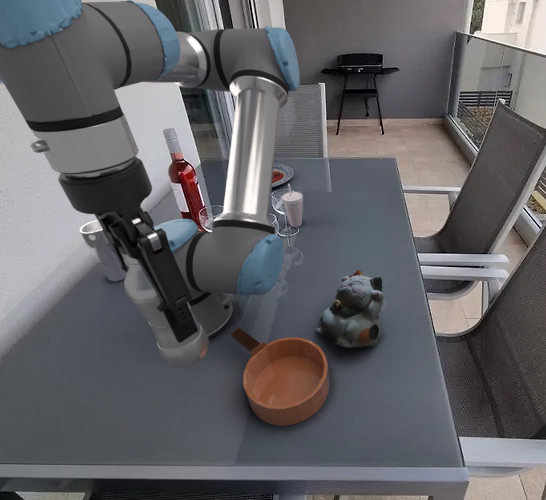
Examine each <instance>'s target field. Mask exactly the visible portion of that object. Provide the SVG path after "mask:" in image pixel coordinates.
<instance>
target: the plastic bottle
mask: <svg viewBox="0 0 546 500" xmlns="http://www.w3.org/2000/svg"><path fill="white" fill-rule="evenodd" d="M137 249H139V247H137V248H135V249H133V250H134V251H135V250H137ZM121 254H122V256H123V258H124V262H125V264H126V266H128V267H129V269H128V271H127V274H126V277H125V279H124V281H123V283H124V284H123V285H124V292H125V294H126V295H127V296H128V298H129V299H130V300H131V302H132V304H134V306H135V307H136V308H137V309H138V310H139V311H140V312H141V314H142V315H143V317H144V318H145V320H146V321H147V323H148V324H149V326H150V329H151V330H152V333H153V335H154V339H155V341H156V344H157V345H156V346H157V349H158V353H159V355H160V358H161V359H162V360H163V361H164V362H165V363H166V364H167V365H168V366H170V367H172V368H176V369H187V368H191V367H194V366H195V365H197V364H199V363H200V362H201V361H202V360H203V359H204V358H205V357H206V355H207V353H208V351H209V348H210V339H208V335H207V333H206V332H205V330H204V329H203V327H202V326H201V325H200V324H199V322H198V321H197V319H196V317H195V315H194V314H193V312H192V310H191V307H190V305H189V302H187V305H188V307H189V309H190V312H191V314H192V317H193V319H194V321H195V324H196V326H197V328H198V331H197V332H196V333H194V334H193V335H191V336H190V337H188V338H187V339H186V340H184V341H183V342H181V343H179V342H178V341H177V340H176V338H175V336H174V334H173V331H172V329H171V327H170V325H169V323H168V321H167V319H166V317H165V315H164V313H163V311H162V312H160V311H159V310H158V309H157V308H156V307H157V306H159V305H160V304H161V303H162V302H161V300H160V299H159V297H158V295H157V294H156V292H155V290H154V289H153V287H152V285H151V283H150V282H149V280H148V278H147V277H146V275H145V273H144V272H143V270H142V268H141V266H140V265H139V263H138V261H137V260H136V259H133V258H130V257H129V256H128V254H127V253H126V251H125V249H124V247H122V248H121Z"/></svg>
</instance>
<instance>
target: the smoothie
mask: <svg viewBox="0 0 546 500" xmlns="http://www.w3.org/2000/svg"><path fill="white" fill-rule="evenodd" d="M287 185H288V192H286V193H284V194H283V195H282V196H281V202H282V203H283V206H284V208H285V209H284V210H285V212H286V215H287V219H288V222H289V225H290V227H292V228H297V227H301V226H302V224H303V199H304V197H303V194H302V193H301V192H298V191H292V189H291V183H287Z"/></svg>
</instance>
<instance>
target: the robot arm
mask: <svg viewBox="0 0 546 500" xmlns="http://www.w3.org/2000/svg"><path fill="white" fill-rule="evenodd" d="M300 78H301V77H300V67H299V61H298V57H297V52H296V47H295V45H294V42H293V39H292V37H291V35H290V33H289V32H288V31H287V29H285V28H283V27H279V26H278V27H273V26H272V27H270V26H268V25H266V26H264V27H257V28H256V27H254V28H252V27H251V28H249V27H248V28H224V29H223V28H219V29H218V28H217V29H209V30H202V31H195V32H194V31H193V32H185V31H176V29H175V27H174V25H173V24H172V23H171V21H170V20H169V18H167V16H166V15H165V14H164V13H163V12H162V11H160V10H159V9H158V8H156V7H154V6H153V5H150V4H148V3H143V2H136V1H134V0H120V1H89V2H88V1H85V2H83V1H82V0H0V85H3V86H5V88H6V90H7V92H8V93H9V95H10V97H11V98H12V100H13V102H14V103H15V106H16V107H17V109H18V110H19V112H20V115H22V118H23V119H24V121H25V123H26V124H27V127H28V128H29V129H30V130H31V132H32V135H33V136H34V137H36V138H37V140H36V141H34V142H31V143H30V148H31V149H32V151H33V152H34V153H36V154H42V153H43V154H44V156H45V159H46V160H47V162H48V164H49V166H50V167H51V170H53V171H54V172H56V173H59V175H58V178H57V182H58V184H59V185H60V187H61V188H62V190H63V192H64V194H65V196H66V198H67V199H68V201H69V203H70V205H71V206H72V208H73V209H74V210H75V211H77V212H79V213H81V214H87V215H94V216H95V218H96V220H98V221H99V223H100V225H101V227H102V229H103V231H104V233H105V235H106V237H107V239H108V241H109V243H110V245H111V247H112V249H113V251H114V253H115V255H116V257H117V259H118V261H119V263H120V265H121V268H122V270H124V271H125V272H126V271H128V269H129V267H128V266H126V264H125V262H124V258H123V256H122V254H121V248H122V247H124V249H125V251H126V253H127V254H128V256H129V257H130V258H133V259H136V260H137V261H138V263H139V265H140V266H141V268H142V270H143V272H144V273H145V275H146V277H147V278H148V280H149V282H150V283H151V285H152V287H153V289H154V290H155V292H156V294H157V295H158V297H159V299H160V300H161V302H162V303H161V304H160V305H159V306H157V307H156V308H157V309H158V310H159V311H160V312H162V311H163V313H164V315H165V317H166V319H167V321H168V323H169V325H170V327H171V329H172V331H173V334H174V336H175V338H176V340H177V341H178V342H179V343H181V342H183V341H184V340H186V339H187V338H188V337H190V336H191V335H193V334H194V333H196V332H197V331H198V328H197V326H196V324H195V321H194V319H193V317H192V314H191V312H190V309H189V307H188V305H187V302H189V305H190V307H191V310H192V312H193V314H194V315H195V317H196V319H197V321H198V322H199V324H200V325H201V326H202V327H203V329H204V330H205V332H206V333H207V335H208V340H210V339H213V338H214V337H215V336H217V335H218V334H220V333H221V332H222V331H224V330H225V329H226V328H227V327H228V325H229V324H230V323H231V321H232V319H233V317H234V312H235V311H234V305H233V302H232V298H231V296H230V295H238V296H244V297H245V296H262V295H265V294H267V293H269V292H270V291H271V290H272V289H273V287H274V286H275V285H276V283H277V282H278V279H279V277H280V274H281V271H282V267H283V262H284V254H285V253H284V242H283V240H282V238H281V236H280V235H277V234H276V226H275V225H274V224H273V223H272V222H271V221H270V205H271V199H272V188H273V187H272V178H273V168H274V164H275V158H276V157H275V156H276V147H277V138H278V126H279V118H280V109H282V108H284V107H285V106H286V105H287V104H288V101H289V92H291V93H294V92H296V91H298V90H299V88H300V84H301V83H300V81H301V79H300ZM157 83H162V84H163V83H164V84H167V83H170V84H171V83H174V84H175V85H176V86H179V87H181V88H184V89H185V88H186V89H201V90H208V91H217V92H226V93H230V94H231V95H232V96H233V98H234V99H235V107H234V116H233V125H232V132H231V140H230V141H231V142H230V150H229V159H228V166H227V175H226V183H225V193H224V201H223V209H222V213H221V214H219V216H217V217H216V218H214V219H213V222H212V229H211V230H212V231H200V230H199V229H200V227H199V225H197V223H196V222H195V221H194V220H192V219H190V218H179V219H178V218H177V219H172V220H168V221H165V222H163V223H160V224H158V225H155V226H154V223H155V222H154V220H153V219H152V216H151V215H150V213H149V212H148V211H147V210H144V209H143V208H142V206H141V205H142V203H143V202H144V201H145V199H148V197H149V196H150V195H151V194H152V192H153V185H152V183H151V179H150V178H149V175H148V172H147V170H146V167H145V165H144V162H143V160H142V159H141V158H139V157H137V156H138V154H139V148H138V145H137V143H136V140H135V138H134V136H133V135H134V134H133V133H132V130H131V128H130V125H129V123H128V120H127V118H126V115H125V113H124V112H123V109H122V107H121V104H120V102H119V99H118V97H117V94H116V92H115V91H116V90H118V89H121V88H124V87H129V86H132V85H136V84H157ZM137 247H139V249H137V250H135V251H134V250H133V249H135V248H137Z"/></svg>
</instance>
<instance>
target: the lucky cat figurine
mask: <svg viewBox="0 0 546 500" xmlns="http://www.w3.org/2000/svg"><path fill="white" fill-rule="evenodd" d="M334 297H335V300H334V301H333V303H332V305H331V306H329V307H327V308H326V309H325V310H323V312H322V313H321V314H320V317H319V322H320V325H319V327H316V328H315V330H316V332H317V333H318V334H319V335H323V336H325V337H326V338H327V339H329V340H330V341H332V342H333V343H334V344H335V345H337V346H339V347H340V346H341V347H342V348H361V347H362V348H364V347H372V346H373V347H374V346H376V345H378V344H379V343H380V339H381V332H382V329H383V328H382V324H381V320H380V312H381V309H382V306H383V302H384V297H385V295H384V292H383V279H382V276H376V277H369V276H368V275H364V273H363V271H361V270H360V269H357V270H356V271H355V272H354V273H353V274H351V275H345V276H342V277H341V283H340V284H339V285H338V286H337V288H336V293H335V296H334Z"/></svg>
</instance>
